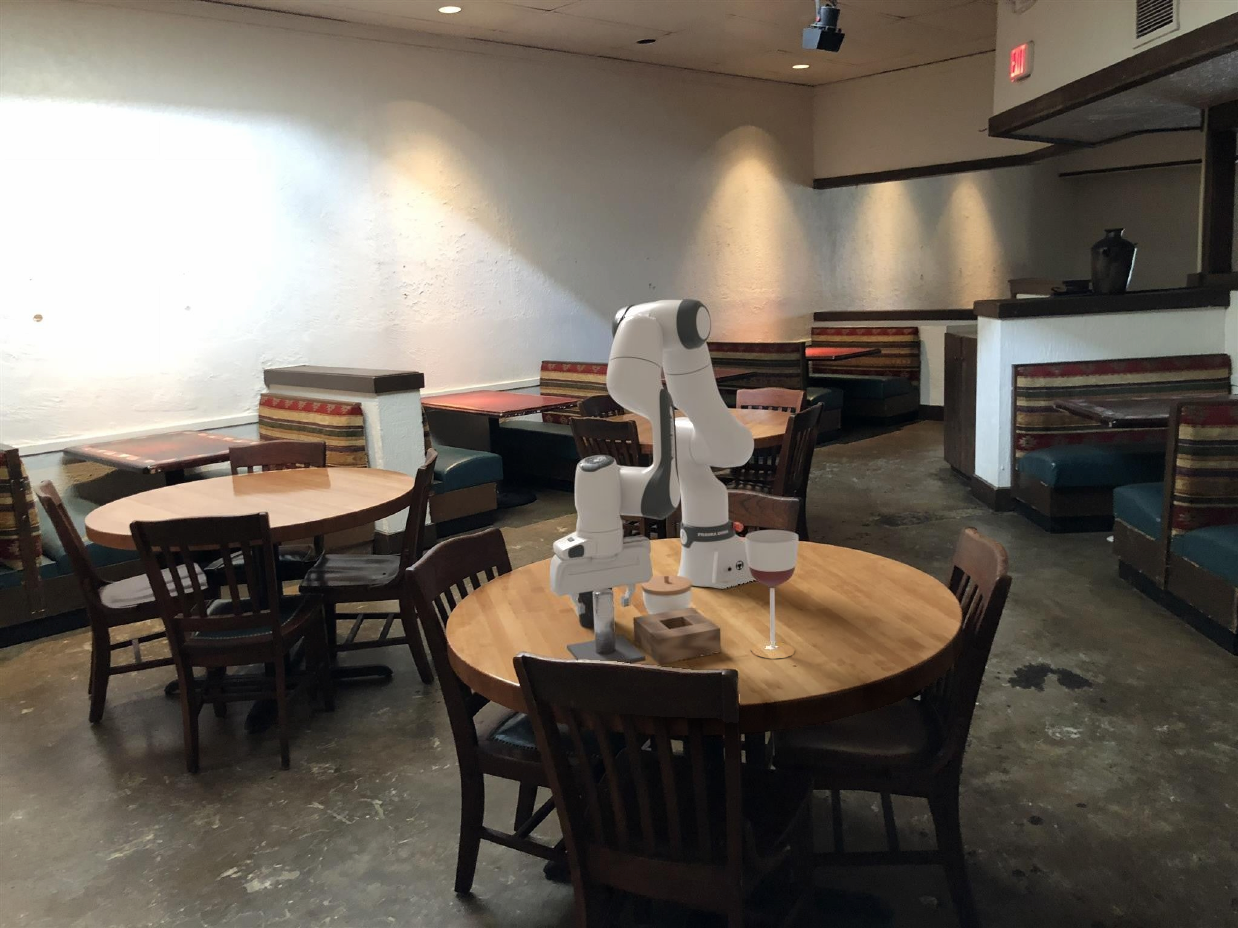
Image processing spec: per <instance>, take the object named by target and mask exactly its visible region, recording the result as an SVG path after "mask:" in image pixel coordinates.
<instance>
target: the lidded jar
mask: <svg viewBox="0 0 1238 928" xmlns="http://www.w3.org/2000/svg"><path fill="white" fill-rule="evenodd" d="M692 586H693V585H692V583H691V581H690V580H689V579H687V578H685V577H681V576H677V575H674V574H673V575H672V574H671V575H670V574H663V575H656V576H652V578H651V580H650V581H649V582H644V583H641V589H642V593H641V594H642V599H643V600H642V601H643V604H644V607H645V609H646V611H647V613H648V614H649V615H651V614H657V613H662V612H668V611H674V610H680V609H686V608H690V606H691V605H690V604H691V600H692Z"/></svg>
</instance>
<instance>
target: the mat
mask: <svg viewBox="0 0 1238 928" xmlns="http://www.w3.org/2000/svg"><path fill="white" fill-rule="evenodd" d="M615 643H616V651H615V652H614V653H612V654H606V655H603V654H598V653H596V651H595V639H594V640H589V641H583V642H576V643H572V644H567V645H566V649H567V650H568V651H569V652H570V654H572V656H573V657H574V658H575V660H577V659H588V660H600V661H617V662H628V663H632V662H637V661H642V660H646V656H645V655H644V654H643V653H642V652H641V651H640V650H639V649H638V648H637V647H636V646H635V645H634V644H633V643H632V642H630V640H628V639H627V638H626V637H625V636H624V634H622V635H615Z"/></svg>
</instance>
